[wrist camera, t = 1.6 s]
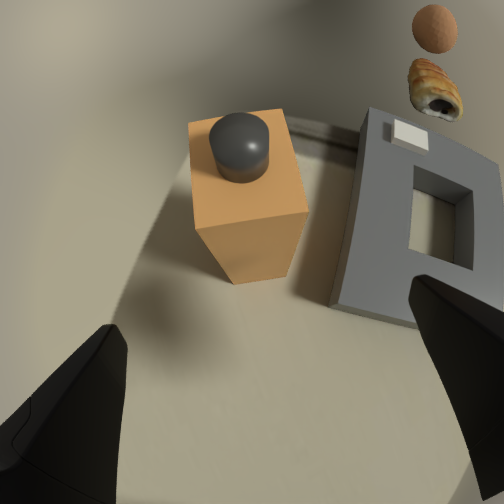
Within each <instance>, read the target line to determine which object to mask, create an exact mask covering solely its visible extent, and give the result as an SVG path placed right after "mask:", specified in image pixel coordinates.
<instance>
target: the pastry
mask: <svg viewBox="0 0 504 504" xmlns="http://www.w3.org/2000/svg"><path fill="white" fill-rule="evenodd" d="M409 70H410V71H409V75H408V83H409V92H410V101H411V103H412V105H413V107H414V108H415V109H416V110H417V111H418V112H420V113H423V114H426V115H430V116H434V117H439V118H442V119H444V120H446V121H449V122H456V121H458V120H459V119H461V117H462V116H463V107H462V101H461V98H460V95H459V93H458V88H457V86H456V85H455V84H454V83H453V82H451V80H450V79H449V78H448V76H447V74H446V73H445V72H444V71H443V70H441V68H440V67H439V66H437V65H435V64H433V63H432V62H430V61H429V60H427V59H423V58H420V59H416V60H414V61H413V63H412V65H411V67H410V69H409Z"/></svg>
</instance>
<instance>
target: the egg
mask: <svg viewBox="0 0 504 504" xmlns="http://www.w3.org/2000/svg"><path fill="white" fill-rule="evenodd" d="M412 32H413V35H414V38H415V40H416V41H417V42H418V44H419V45H420V46H421V47H422V48H423V49H425V50H426V51H428V52H431V53H436V54H440V53H445V52H447V51H449V50H450V49H451V48H452V47H453V46H454V45H455V42H456V40H457V35H458V32H457V24H456V21H455V19H454V17H453V15H452V14H451V12H449V10H448V9H446V8H445V7H443V6H440V5H428V6H426V7H424V8H422V9H421V10H420V11H418V12H417V14H416V15H415V17H414V19H413V23H412Z"/></svg>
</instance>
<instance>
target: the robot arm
mask: <svg viewBox="0 0 504 504" xmlns="http://www.w3.org/2000/svg"><path fill="white" fill-rule="evenodd" d="M408 302H409V306H410V308H411V311H412V313H413V316H414V318H415V321H416V323H417V326H418V329H419V331H420V334H421V337H422V339H423V342H424V344H425V346H426V348H427V351H428V353H429V355H430V357H431V359H432V361H433V363H434V365H435V368H436V370H437V372H438V374H439V376H440V379H441V381H442V383H443V385H444V388H445V390H446V393H447V395H448V397H449V400H450V402H451V405H452V407H453V410H454V412H455V415H456V417H457V420H458V423H459V425H460V428H461V431H462V434H463V436H464V439H465V442H466V445H467V448H468V450H469V455H470V458H471V461H472V464H473V468H474V471H475V475H476V478H477V482H478V485H479V489H480V493H481V497H482V500H483V501H484V500H487V499H489V498H490V497H493V496H495V495H497V494H498V493H500V492H502V491H504V312H502V311H500V310H499V309H497V308H495V307H493V306H491V305H489V304H487V303H485V302H483V301H481V300H479V299H477V298H475V297H473V296H471V295H469V294H467V293H465V292H463V291H461V290H459V289H456V288H454V287H452V286H450V285H448V284H446V283H444V282H442V281H440V280H438V279H435V278H433V277H431V276H429V275H427V274H421V275H417V276H415V277H413V279H412V283H411V287H410V292H409V296H408ZM127 352H128V348H127V343H126V341H125V339H124V338H123V336H122V334H121V332H120V331H119V329H118V327H117V326H116V325H115V324H106V325H102V326H101V327H100V328H99V329H98V330H97V331H96V332H95V333H94V334H93V335H92V336H91V337H90V338H88V339H87V340H86V341H85V342H84V343H83V344H82V345H81V346H80V347H79V348H78V349H77V350H76V351H75V352H74V353H73V354H72V355H71V356H70V357H69V358H68V359H67V360H66V361H65V362H64V363H63V364H62V365H61V366H60V367H59V368H58V369H57V370H55V371H54V372H53V373H52V374H51V375H50V376H49V377H48V378H47V380H46V381H45V382H44V383H43V384H42V385H41V386H40V387H39V388H38V389H37V390H36V391H35V392H34V393H33V394H32V395H31V397H29V398H28V399H27V400H26V401H25V402H24V403H23V404H22V405H21V406H20V407H19V408H18V409H17V410H16V411H15V412H14V413H13V414H12V415H11V416H10V417H9V418H8V419H7V420H6V421H5V422H4V423H3V424H2V425H1V426H0V504H116V485H117V466H118V453H119V441H120V431H121V422H122V414H123V406H124V399H125V389H126V368H127Z"/></svg>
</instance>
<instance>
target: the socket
mask: <svg viewBox="0 0 504 504" xmlns="http://www.w3.org/2000/svg"><path fill="white" fill-rule="evenodd" d="M413 188H415V189H418V190H420V191H423V192H425V193H428V194H430V195H433V196H435V197H438V198H440V199H443V200H445V201H448V202H450V203H452V204H455V242H454V259H453V264H452V263H449V262H446V261H444V260H441V259H438V258H435V257H432V256H429V255H426V254H423V253H420V252H417V251H414V250H411V249H408V246H409V237H410V226H411V214H412V199H413ZM421 274H427V275H429V276H431V277H433V278H435V279H438V280H440V281H442V282H444V283H446V284H448V285H450V286H452V287H454V288H456V289H459V290H461V291H463V292H465V293H467V294H469V295H471V296H473V297H475V298H477V299H479V300H481V301H483V302H485V303H487V304H489V305H491V306H493V307H495V308H497V309H499V310H500V311H502V312H503V304H504V205H503V195H502V187H501V179H500V173H499V167H498V164H496V163H495V162H493V161H491V160H490V159H488V158H486V157H484V156H483V155H481V154H479V153H477V152H475V151H473V150H472V149H470V148H468V147H466V146H464V145H462V144H460V143H458V142H455V141H454V140H452V139H450V138H447V137H445V136H443V135H441V134H439V133H436V132H434V131H432V130H430V129H427V128H425V127H423V126H420V125H418V124H415V123H413V122H410V121H408V120H405V119H403V118H400V117H397V116H395V115H392V114H389V113H387V112H384V111H381V110H378V109H375V108H372V107H369V109H368V111H367V114H366V116H365V119H364V121H363V124H362V126H361V129H360V138H359V146H358V154H357V161H356V168H355V175H354V181H353V188H352V194H351V200H350V206H349V211H348V217H347V222H346V227H345V233H344V238H343V243H342V247H341V252H340V257H339V261H338V266H337V270H336V275H335V279H334V283H333V288H332V292H331V296H330V300H329V304H328V308H332V309H336V310H340V311H344V312H348V313H352V314H356V315H360V316H364V317H368V318H372V319H376V320H380V321H384V322H388V323H393V324H397V325H401V326H405V327H410V328H414V329H418V326H417V323H416V321H415V318H414V316H413V313H412V311H411V308H410V306H409V302H408V296H409V292H410V287H411V283H412V279H413V277H415V276H417V275H421ZM418 330H419V329H418Z"/></svg>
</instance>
